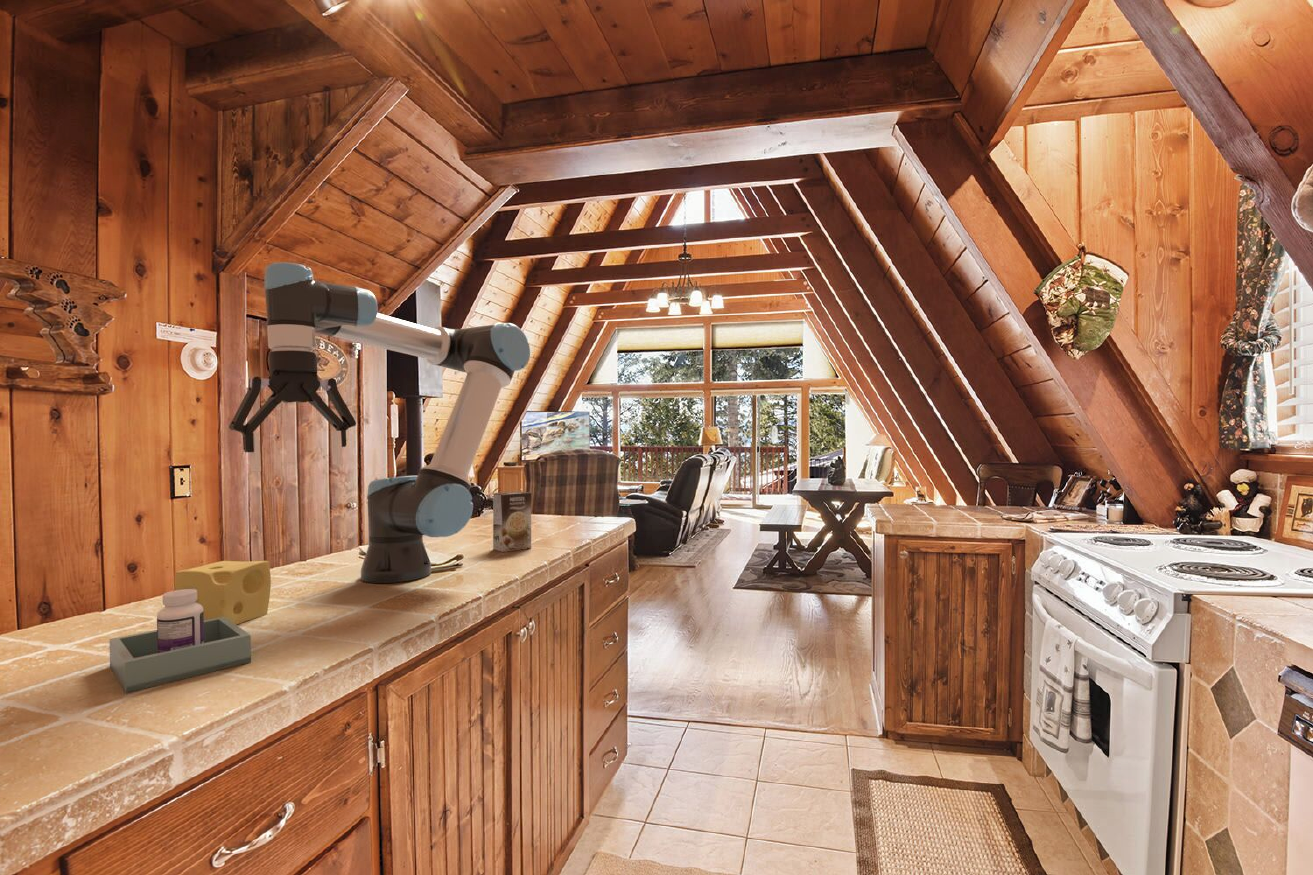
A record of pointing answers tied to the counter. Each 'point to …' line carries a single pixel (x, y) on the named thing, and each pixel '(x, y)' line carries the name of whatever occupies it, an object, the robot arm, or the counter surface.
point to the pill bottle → (180, 621)
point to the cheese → (229, 589)
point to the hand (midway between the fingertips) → (298, 468)
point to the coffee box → (511, 521)
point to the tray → (177, 656)
